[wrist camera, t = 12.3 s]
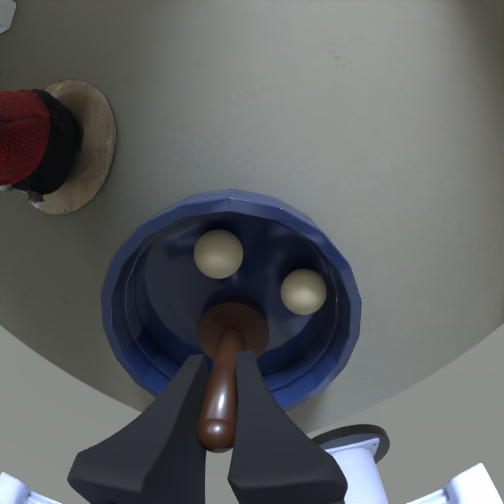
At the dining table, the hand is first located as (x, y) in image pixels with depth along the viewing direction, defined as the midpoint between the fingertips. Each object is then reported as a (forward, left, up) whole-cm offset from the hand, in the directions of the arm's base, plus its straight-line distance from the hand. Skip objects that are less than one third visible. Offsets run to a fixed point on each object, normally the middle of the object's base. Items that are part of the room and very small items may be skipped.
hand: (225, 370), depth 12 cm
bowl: (0, 0, -6) cm, 6 cm away
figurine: (+11, +9, -6) cm, 16 cm away
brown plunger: (-1, 0, -5) cm, 5 cm away
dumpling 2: (+1, -4, -4) cm, 6 cm away
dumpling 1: (+4, 0, -4) cm, 6 cm away
